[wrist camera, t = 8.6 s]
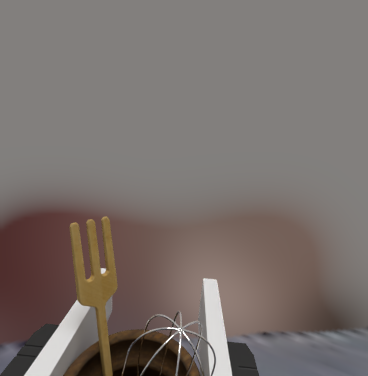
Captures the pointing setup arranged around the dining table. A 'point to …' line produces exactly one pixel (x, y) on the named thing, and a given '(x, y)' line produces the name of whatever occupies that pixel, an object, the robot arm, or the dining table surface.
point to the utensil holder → (130, 339)
